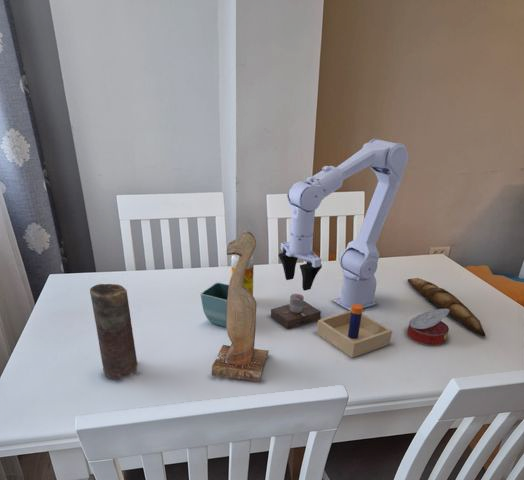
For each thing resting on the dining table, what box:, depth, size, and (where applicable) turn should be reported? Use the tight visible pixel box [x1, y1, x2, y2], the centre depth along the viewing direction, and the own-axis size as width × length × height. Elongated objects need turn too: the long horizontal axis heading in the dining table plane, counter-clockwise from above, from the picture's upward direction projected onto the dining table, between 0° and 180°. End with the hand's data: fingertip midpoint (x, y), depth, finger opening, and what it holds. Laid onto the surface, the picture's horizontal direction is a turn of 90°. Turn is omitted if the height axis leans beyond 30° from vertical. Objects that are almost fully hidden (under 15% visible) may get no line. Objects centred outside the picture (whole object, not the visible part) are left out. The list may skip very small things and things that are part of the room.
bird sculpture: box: [210, 230, 270, 382], centre depth 101 cm, size 11×12×32 cm
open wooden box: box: [316, 310, 393, 359], centre depth 120 cm, size 13×14×4 cm
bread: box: [407, 277, 486, 337], centre depth 137 cm, size 38×5×5 cm, turn 16°
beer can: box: [230, 254, 255, 296], centre depth 133 cm, size 6×6×15 cm
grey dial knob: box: [289, 293, 305, 313], centre depth 128 cm, size 4×4×4 cm
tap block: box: [270, 300, 322, 330], centre depth 129 cm, size 11×8×3 cm
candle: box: [89, 283, 138, 380], centre depth 101 cm, size 8×7×20 cm
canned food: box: [406, 308, 450, 346], centre depth 122 cm, size 11×10×10 cm
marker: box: [348, 304, 364, 339], centre depth 118 cm, size 3×3×8 cm
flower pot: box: [200, 282, 229, 328], centre depth 125 cm, size 9×9×9 cm
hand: (298, 284), depth 125 cm, fingers open, 7 cm apart
